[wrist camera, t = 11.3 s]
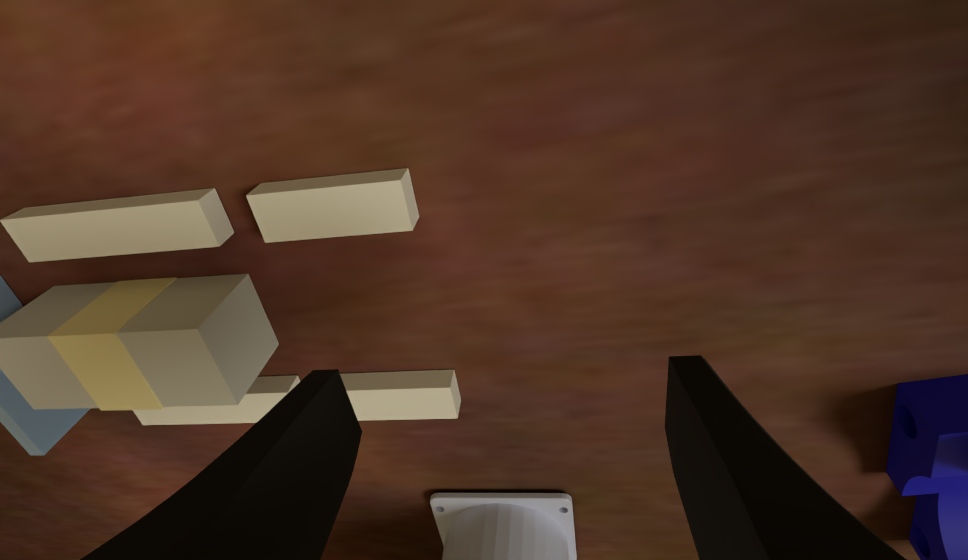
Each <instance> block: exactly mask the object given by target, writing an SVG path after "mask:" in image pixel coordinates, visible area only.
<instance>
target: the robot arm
mask: <svg viewBox="0 0 968 560" xmlns="http://www.w3.org/2000/svg"><path fill="white" fill-rule="evenodd" d="M665 430H666V436H667V441H668V447H669V452H670V458H671V463H672V468H673V473H674V477H675V480H676V483H677V487H678V490H679V493H680V497H681V500H682V503H683V507H684V510H685V513H686V517H687V520H688V523H689V526H690V530H691V533H692V536H693V539H694V543H695V546H696V549H697V552H698V556H699V559H700V560H906V559H905V558H904V557H903V556H901V555H900V554H899V553H898V552H896V551H895V550H894V549H893V548H891V547H890V546H889V545H888V544H887V543H885V542H884V541H883V540H882V539H880V538H879V537H878V536H877V535H876V534H874V533H873V532H872V531H871V530H870V529H868V528H867V527H866V526H865V525H864V524H862V523H861V522H860V521H859V520H858V519H857V518H856V517H854V516H853V515H852V514H851V513H850V512H849V511H847V510H846V509H845V508H844V507H843V506H842V505H841V504H839V503H838V502H837V501H836V500H835V499H834V498H833V497H832V496H831V495H830V494H828V493H827V492H826V491H825V490H824V489H823V488H822V487H821V486H820V485H819V484H818V483H817V482H816V481H815V480H813V479H812V478H811V477H810V476H809V475H808V474H807V473H806V472H805V471H804V470H803V469H802V468H801V467H800V466H799V465H798V464H797V463H796V462H795V461H794V460H793V459H792V458H791V457H790V456H789V455H788V454H787V453H786V452H785V451H784V450H783V449H782V448H781V447H780V446H779V445H778V444H777V443H776V441H775V440H774V439H773V438H772V437H771V436H770V435H769V434H768V433H767V432H766V431H765V430H764V428H763V427H762V426H761V425H760V424H759V423H758V422H757V421H756V420H755V419H754V418H753V417H752V415H751V414H750V413H749V412H748V411H747V410H746V409H745V407H744V406H743V405H742V404H741V403H740V402H739V400H738V399H737V398H736V397H735V396H734V395H733V393H732V392H731V391H730V390H729V389H728V387H727V386H726V385H725V384H724V383H723V381H722V380H721V379H720V378H719V376H718V375H717V374H716V372H715V371H714V370H713V369H712V367H711V366H710V365H709V364H708V362H707V361H706V360H705V359H704V358H703V357H702V356H701V355H699V356H673V357H669V366H668V382H667V399H666V416H665ZM361 434H362V430H361V428H360V425H359V422H358V420H357V417H356V415H355V412H354V409H353V407H352V404H351V402H350V399H349V396H348V394H347V391H346V389H345V386H344V383H343V381H342V378H341V376H340V373H339V370H338V369H336V370H313V371H312V372H311V373H310V374H308V375H307V376H306V377H305V378H304V379H303V380H302V381H301V382H299V383H298V384H297V385H296V386H295V387H294V388H293V389H292V390H291V391H290V392H289V393H288V394H287V395H286V396H285V397H283V398H282V399H281V400H280V401H279V402H278V403H277V404H276V405H275V406H274V407H273V408H272V409H271V410H270V411H269V412H268V413H266V414H265V415H264V416H263V417H262V418H261V419H260V420H259V421H258V422H257V423H256V424H255V425H254V426H253V427H251V428H250V429H249V430H248V431H247V432H246V433H245V434H244V435H243V436H242V437H241V438H240V439H238V440H237V441H236V442H235V443H234V444H233V445H232V446H230V447H229V448H228V449H227V450H226V451H225V452H223V453H222V454H221V455H220V456H219V457H218V458H217V459H215V460H214V461H213V462H212V463H211V464H210V465H208V466H207V467H206V468H205V469H204V470H203V471H202V472H200V473H199V474H198V475H197V476H196V477H194V478H193V479H192V480H191V481H190V482H188V483H187V484H186V485H185V486H183V487H182V488H181V489H180V490H178V491H177V492H176V493H174V494H173V495H172V496H171V497H169V498H168V499H167V500H165V501H164V502H163V503H161V504H160V505H159V506H157V507H156V508H155V509H153V510H152V511H151V512H149V513H148V514H147V515H145V516H144V517H142V518H141V519H140V520H138V521H137V522H135V523H134V524H133V525H131V526H130V527H128V528H127V529H125V530H124V531H122V532H121V533H119V534H118V535H116V536H115V537H113V538H112V539H110V540H109V541H107V542H106V543H104V544H103V545H101V546H100V547H99V548H97V549H96V550H94V551H93V552H91V553H90V554H88V555H87V556H85V557H84V558H82V559H81V560H320V558H321V556H322V553H323V550H324V548H325V545H326V543H327V540H328V537H329V535H330V532H331V529H332V527H333V524H334V522H335V519H336V516H337V514H338V511H339V508H340V506H341V503H342V500H343V498H344V495H345V492H346V490H347V487H348V484H349V481H350V479H351V476H352V472H353V469H354V465H355V461H356V457H357V452H358V448H359V443H360V439H361ZM430 505H431V508H432V511H433V514H434V518H435V521H436V524H437V527H438V530H439V533H440V536H441V540H442V543H443V546H444V550H443V556H442V560H577V555H576V543H575V531H574V520H573V508H572V498H571V497H570V496H569V495H568V494H565V493H434V494H432V495H431V498H430Z"/></svg>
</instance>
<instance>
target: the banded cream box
mask: <svg viewBox="0 0 968 560" xmlns="http://www.w3.org/2000/svg"><path fill="white" fill-rule="evenodd" d="M278 345H279V343H278V341H277V338H276V336H275V334H274V331H273V329H272V327H271V325H270V322H269V320H268V318H267V315H266V313H265V311H264V309H263V306H262V304H261V302H260V299H259V297H258V295H257V293H256V290H255V288H254V286H253V283H252V281H251V279H250V277H249V274H235V275H220V276H204V277H188V278H177V277H173V278H158V279H142V280H127V281H118V282H110V283H95V284H79V285H63V286H53V287H52V288H50V289H49V290H47V291H46V292H45V293H43V294H42V295H40V296H39V297H37V298H36V299H34V300H33V301H31V302H30V303H28V304H27V305H26V306H24V307H23V308H21V309H20V310H18V311H17V312H15V313H14V314H12V315H11V316H9V317H8V318H7V319H5V320H4V321H2V322H1V323H0V369H1V370H2V372H3V373H4V374H5V375H6V376H7V378H8V379H9V380H10V381H11V382H12V384H13V385H14V386H15V387H16V388H17V390H18V391H19V392H20V393H21V395H22V396H23V397H24V398H25V399H26V401H27V402H28V403H29V404H30V405H31V407H32V408H33V409H79V408H99V409H100V410H101V411H103V410H154V409H163V408H164V407H175V406H224V405H238V404H239V403H240V401H241V400H242V398H243V397H244V395H245V394H246V392H247V391H248V389H249V388H250V386H251V385H252V384H253V382H254V381H255V379H256V378H257V376H258V375H259V373H260V372H261V370H262V369H263V367H264V366H265V364H266V363H267V361H268V360H269V358H270V357H271V355H272V354H273V353H274V351H275V350H276V348H277V347H278Z"/></svg>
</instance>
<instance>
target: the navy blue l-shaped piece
mask: <svg viewBox="0 0 968 560" xmlns="http://www.w3.org/2000/svg"><path fill="white" fill-rule="evenodd" d="M886 472H887V474H888V476H889V477H890V479H891V480H892V482H893V483H894V485H895V486H896V488H897V489H898V491H899V493H900V494H901V496H911V495H917V498H916V504H915V509H914V515H913V520H912V526H911V531H910V537H909V541H910V543H911V545H912V546H913V548H914V549H915V551H916V553H917V554H918V556H919V558H920V559H921V560H968V374H966V375H959V376H951V377H943V378H936V379H928V380H921V381H913V382H905V383H898V385H897V393H896V401H895V409H894V416H893V424H892V432H891V440H890V447H889V455H888V463H887V470H886Z"/></svg>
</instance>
